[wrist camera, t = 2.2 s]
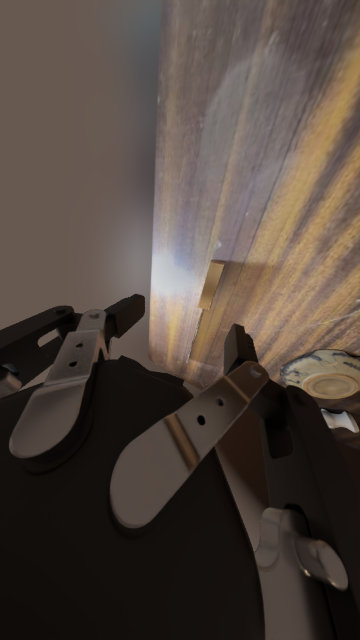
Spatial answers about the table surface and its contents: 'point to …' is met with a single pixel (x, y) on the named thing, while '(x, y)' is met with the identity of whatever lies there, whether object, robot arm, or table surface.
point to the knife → (209, 289)
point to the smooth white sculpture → (340, 420)
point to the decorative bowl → (324, 374)
